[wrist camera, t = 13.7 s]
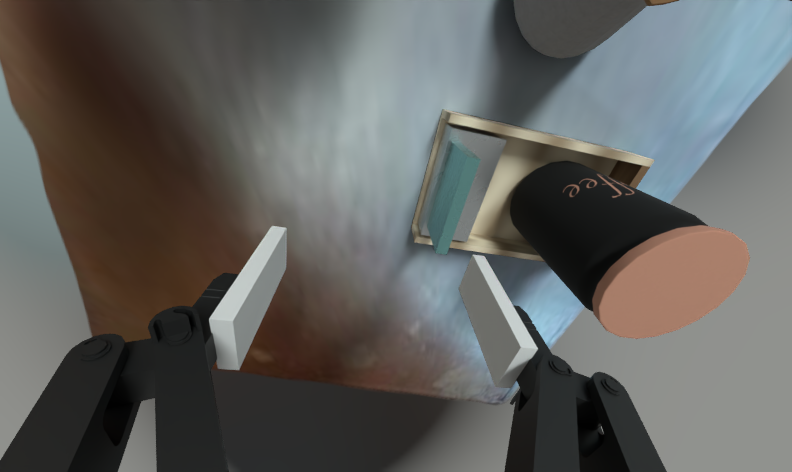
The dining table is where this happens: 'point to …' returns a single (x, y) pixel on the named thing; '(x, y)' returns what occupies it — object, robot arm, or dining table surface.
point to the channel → (513, 166)
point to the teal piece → (458, 184)
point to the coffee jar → (626, 250)
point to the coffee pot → (574, 23)
